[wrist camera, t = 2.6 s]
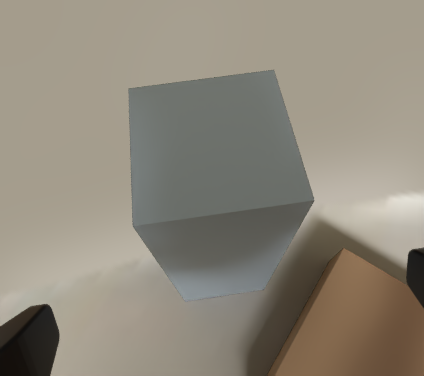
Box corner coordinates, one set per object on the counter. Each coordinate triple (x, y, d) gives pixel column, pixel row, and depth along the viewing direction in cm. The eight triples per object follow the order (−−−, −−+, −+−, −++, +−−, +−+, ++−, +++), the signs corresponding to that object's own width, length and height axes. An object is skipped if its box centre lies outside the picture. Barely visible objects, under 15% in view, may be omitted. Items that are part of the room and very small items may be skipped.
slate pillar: (263, 289, 19) (314, 200, 8) (185, 301, 19) (132, 226, 8) (248, 217, 21) (273, 69, 10) (177, 227, 21) (128, 88, 10)
